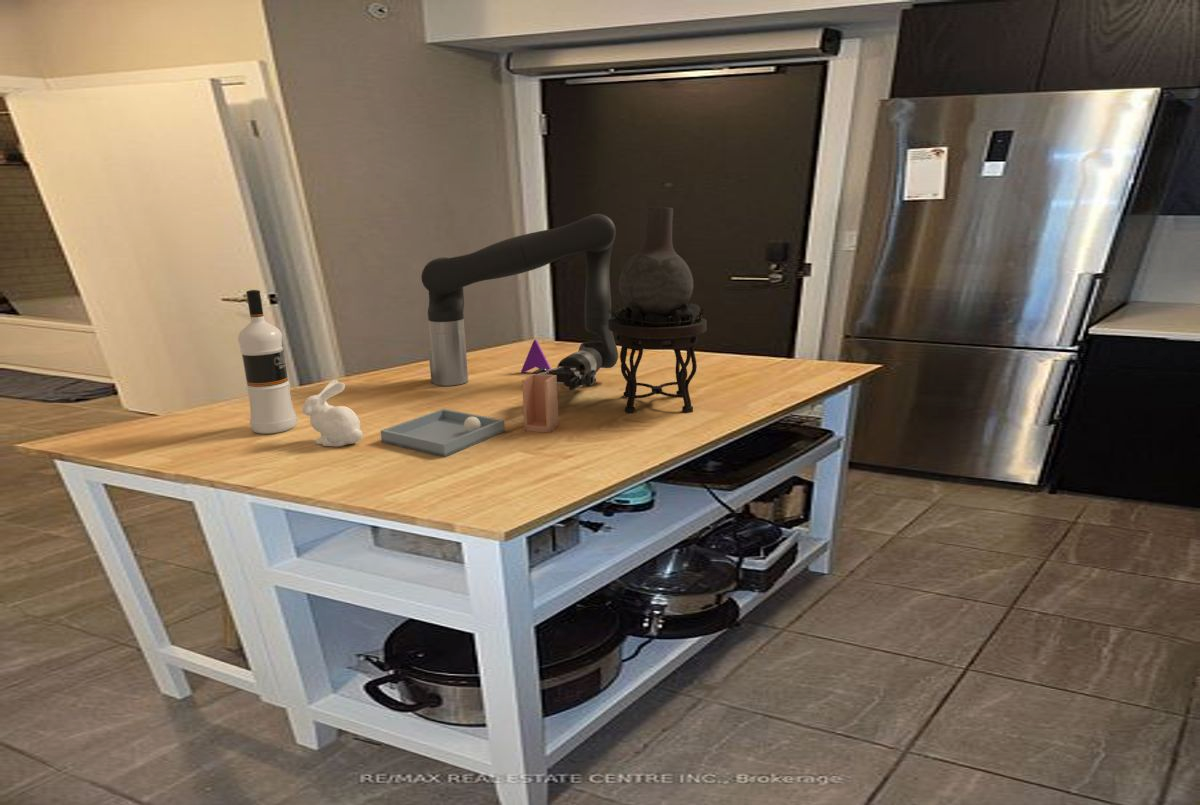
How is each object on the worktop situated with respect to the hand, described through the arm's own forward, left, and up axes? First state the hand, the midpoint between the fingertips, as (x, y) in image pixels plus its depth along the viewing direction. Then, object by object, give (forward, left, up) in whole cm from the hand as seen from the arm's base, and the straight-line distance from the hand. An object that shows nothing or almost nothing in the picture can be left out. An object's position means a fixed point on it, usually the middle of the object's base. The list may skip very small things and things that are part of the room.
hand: (553, 384), depth 149 cm
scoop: (+2, -8, -7) cm, 11 cm away
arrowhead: (-30, +33, -8) cm, 45 cm away
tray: (-12, -22, -7) cm, 26 cm away
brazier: (+15, +20, -8) cm, 27 cm away
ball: (-7, -19, -5) cm, 21 cm away
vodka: (-49, -36, -8) cm, 61 cm away
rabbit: (-30, -35, -8) cm, 47 cm away
